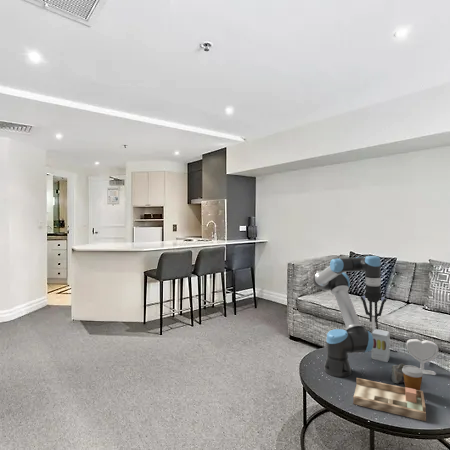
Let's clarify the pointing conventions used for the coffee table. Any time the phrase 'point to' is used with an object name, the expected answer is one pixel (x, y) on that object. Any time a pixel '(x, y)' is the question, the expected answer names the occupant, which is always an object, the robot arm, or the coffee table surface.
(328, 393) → the coffee table surface
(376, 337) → the supplement box
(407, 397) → the terracotta block
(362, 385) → the box
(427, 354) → the heart sculpture
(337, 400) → the coffee table surface
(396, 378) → the mineral rock
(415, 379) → the disposable coffee cup
